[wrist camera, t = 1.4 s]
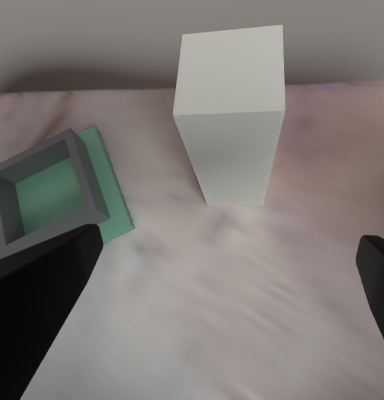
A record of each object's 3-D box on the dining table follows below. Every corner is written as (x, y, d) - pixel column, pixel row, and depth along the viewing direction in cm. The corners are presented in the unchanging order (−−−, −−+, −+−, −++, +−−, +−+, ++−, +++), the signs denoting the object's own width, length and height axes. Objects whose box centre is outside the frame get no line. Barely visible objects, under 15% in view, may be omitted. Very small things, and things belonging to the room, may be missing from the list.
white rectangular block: (262, 206, 23) (285, 110, 11) (207, 205, 24) (172, 115, 12) (262, 155, 25) (282, 23, 13) (210, 156, 26) (182, 33, 14)
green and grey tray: (135, 228, 25) (118, 217, 21) (18, 285, 25) (-16, 283, 21) (98, 130, 29) (80, 109, 26) (0, 179, 29) (-31, 165, 26)
